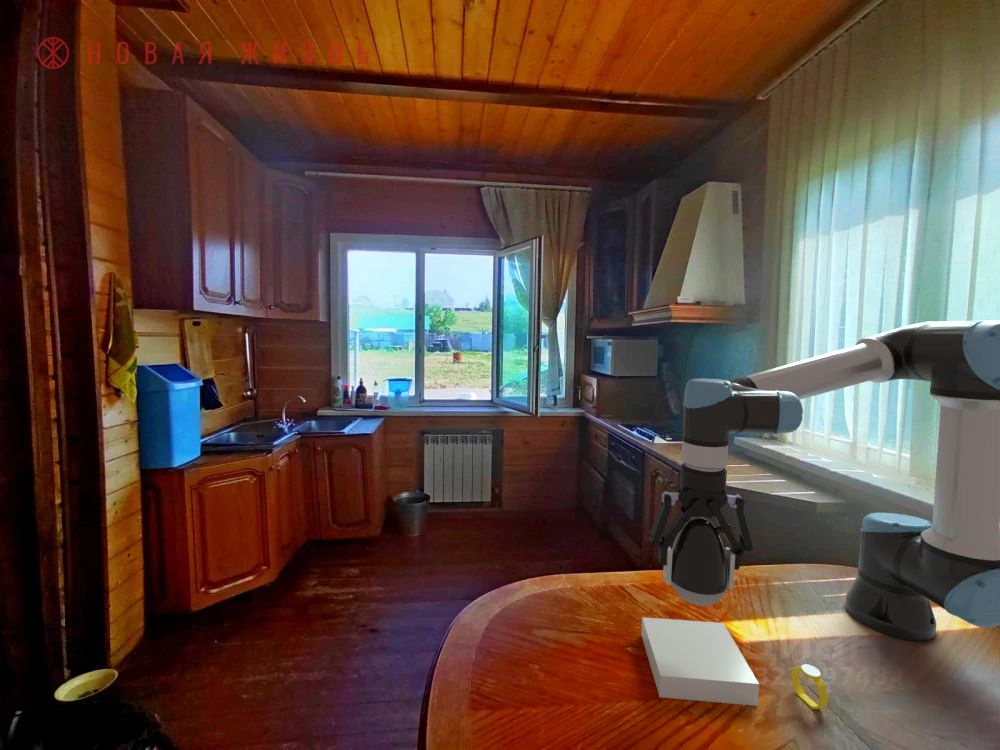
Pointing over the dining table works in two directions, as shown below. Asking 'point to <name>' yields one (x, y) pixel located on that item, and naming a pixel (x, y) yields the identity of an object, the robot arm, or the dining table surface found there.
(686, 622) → the ceramic base
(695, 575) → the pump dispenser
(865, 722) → the dining table surface
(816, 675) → the watch
